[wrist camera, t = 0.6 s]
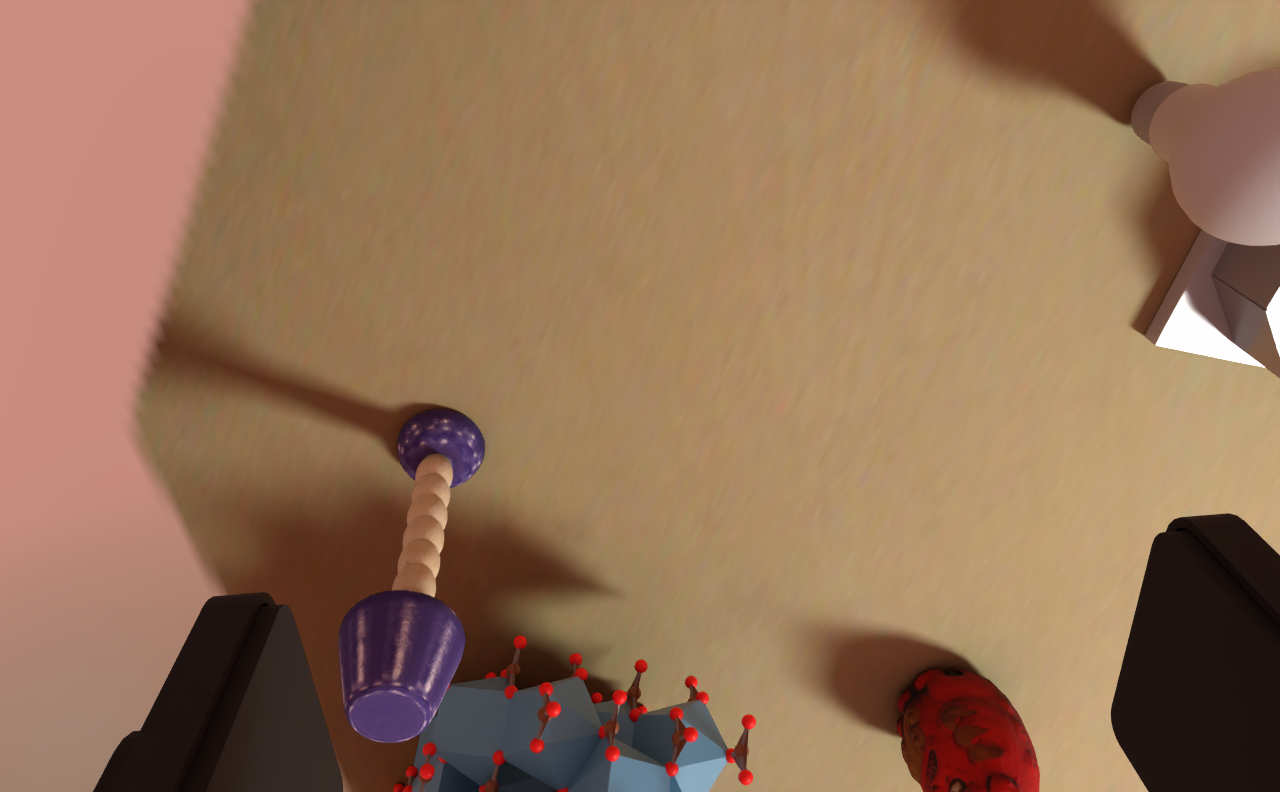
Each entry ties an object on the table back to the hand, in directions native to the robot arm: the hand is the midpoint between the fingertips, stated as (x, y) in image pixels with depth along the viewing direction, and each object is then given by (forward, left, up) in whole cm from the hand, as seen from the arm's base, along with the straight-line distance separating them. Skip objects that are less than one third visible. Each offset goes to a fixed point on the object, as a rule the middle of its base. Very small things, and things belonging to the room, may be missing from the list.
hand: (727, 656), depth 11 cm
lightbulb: (-4, +23, -33) cm, 40 cm away
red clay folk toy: (+31, +28, -33) cm, 53 cm away
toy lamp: (+19, -4, -33) cm, 38 cm away
